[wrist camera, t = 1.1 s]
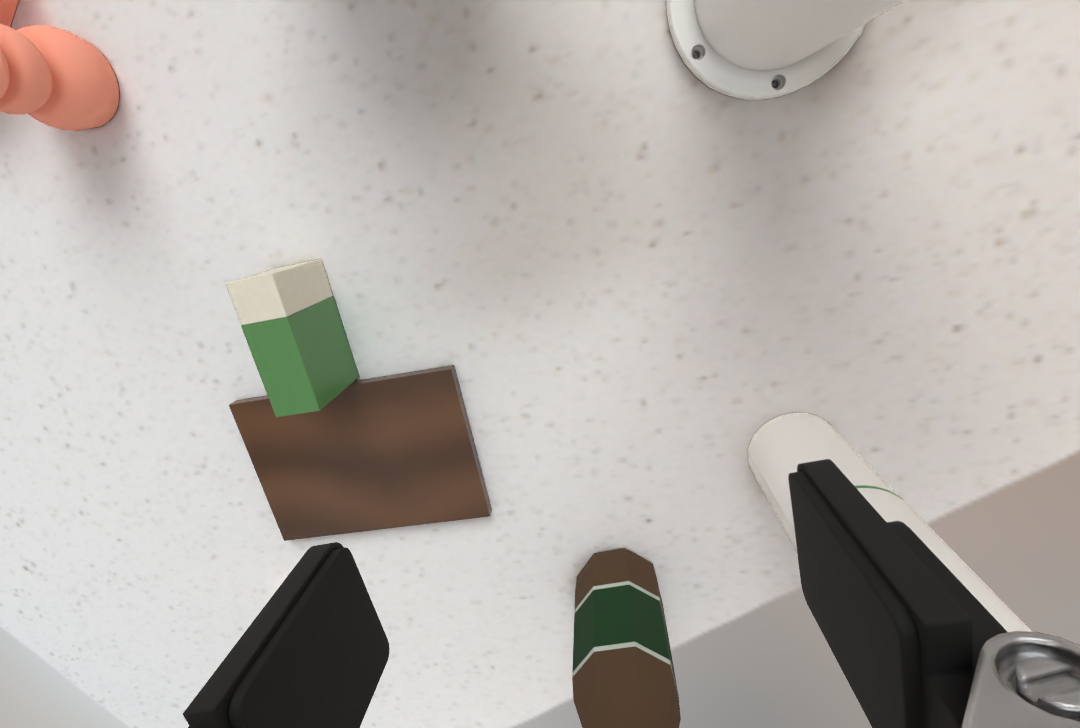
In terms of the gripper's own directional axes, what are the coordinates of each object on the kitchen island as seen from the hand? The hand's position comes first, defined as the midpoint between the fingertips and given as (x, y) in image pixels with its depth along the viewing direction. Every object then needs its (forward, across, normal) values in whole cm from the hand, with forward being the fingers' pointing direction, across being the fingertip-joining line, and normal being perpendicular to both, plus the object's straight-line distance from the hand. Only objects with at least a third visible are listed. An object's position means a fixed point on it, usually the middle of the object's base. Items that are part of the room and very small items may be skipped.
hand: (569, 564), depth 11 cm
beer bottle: (+32, +3, +27) cm, 42 cm away
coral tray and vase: (+32, +36, -27) cm, 55 cm away
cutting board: (+32, +22, +10) cm, 40 cm away
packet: (+32, +21, -2) cm, 38 cm away
